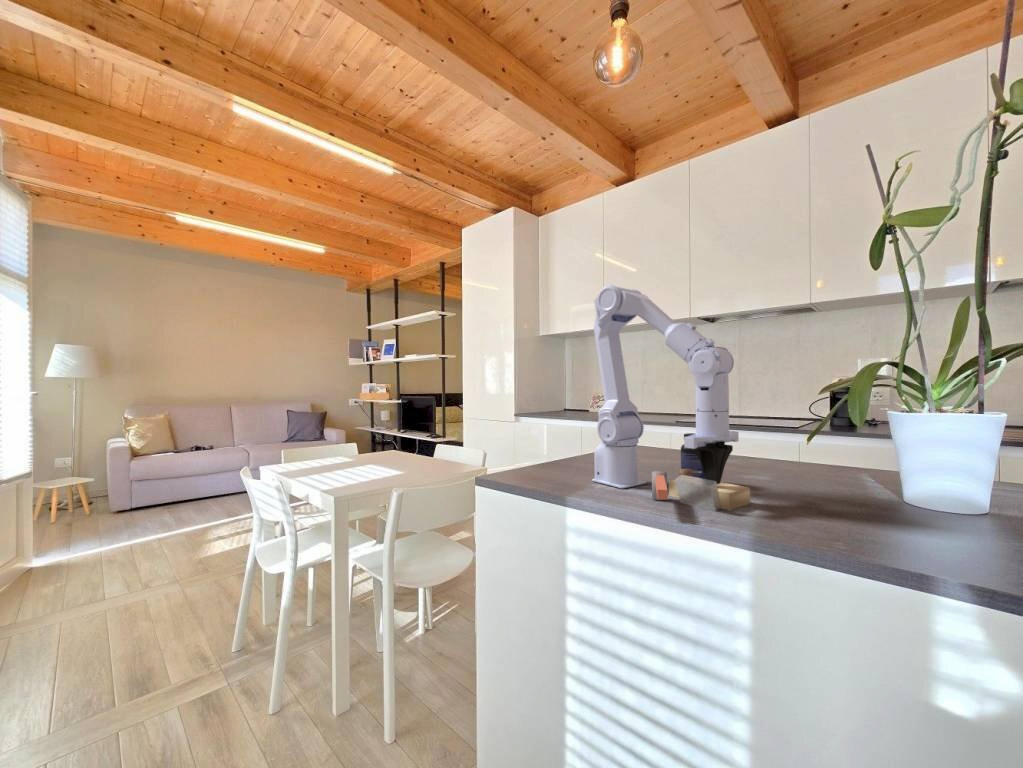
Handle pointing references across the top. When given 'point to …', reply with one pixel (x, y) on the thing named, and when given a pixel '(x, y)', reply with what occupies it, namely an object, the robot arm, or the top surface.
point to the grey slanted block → (698, 492)
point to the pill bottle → (691, 460)
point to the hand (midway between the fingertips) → (713, 483)
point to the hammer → (659, 485)
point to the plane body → (720, 492)
